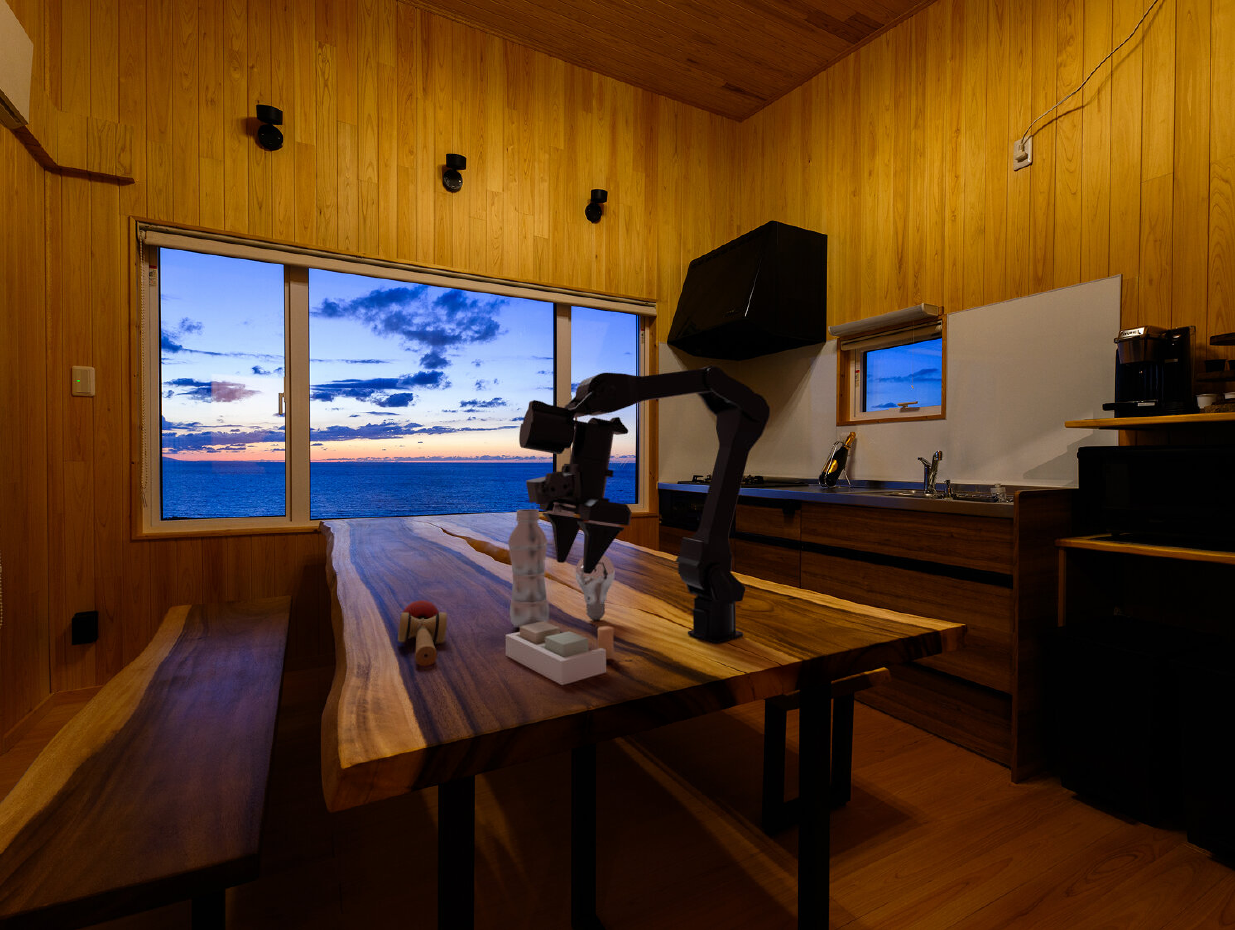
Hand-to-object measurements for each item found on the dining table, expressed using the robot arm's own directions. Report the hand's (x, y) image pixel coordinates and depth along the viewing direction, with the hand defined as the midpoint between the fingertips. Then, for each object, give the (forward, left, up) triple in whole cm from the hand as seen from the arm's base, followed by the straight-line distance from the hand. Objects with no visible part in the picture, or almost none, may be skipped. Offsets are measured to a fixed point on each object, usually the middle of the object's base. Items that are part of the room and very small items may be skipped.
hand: (573, 567), depth 85 cm
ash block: (+4, -4, -13) cm, 14 cm away
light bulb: (-14, -14, -13) cm, 24 cm away
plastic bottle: (-3, -18, -13) cm, 22 cm away
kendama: (+15, -19, -13) cm, 28 cm away
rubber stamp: (+1, +3, -13) cm, 14 cm away
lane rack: (+4, 0, -13) cm, 13 cm away
